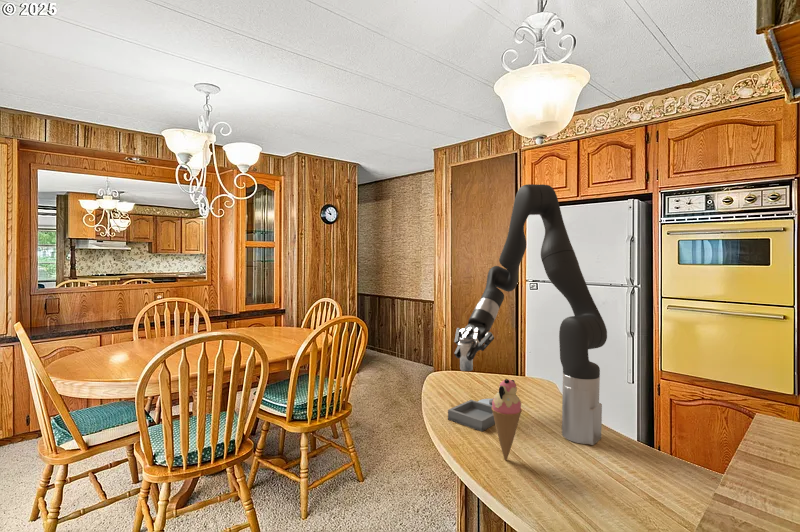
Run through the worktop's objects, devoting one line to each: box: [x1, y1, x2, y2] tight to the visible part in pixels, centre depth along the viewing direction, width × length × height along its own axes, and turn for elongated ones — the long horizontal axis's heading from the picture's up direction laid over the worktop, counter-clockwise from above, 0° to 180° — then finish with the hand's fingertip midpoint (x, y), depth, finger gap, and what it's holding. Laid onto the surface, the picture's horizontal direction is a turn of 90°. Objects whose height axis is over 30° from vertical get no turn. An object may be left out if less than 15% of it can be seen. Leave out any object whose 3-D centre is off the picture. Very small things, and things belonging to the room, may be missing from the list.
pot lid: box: [478, 398, 493, 406], centre depth 135 cm, size 10×10×6 cm
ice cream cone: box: [491, 378, 523, 461], centre depth 102 cm, size 8×7×20 cm
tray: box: [447, 399, 495, 432], centre depth 127 cm, size 12×12×3 cm
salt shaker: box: [459, 337, 474, 372], centre depth 133 cm, size 5×5×10 cm
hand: (462, 357), depth 131 cm, fingers closed on salt shaker, 4 cm apart
